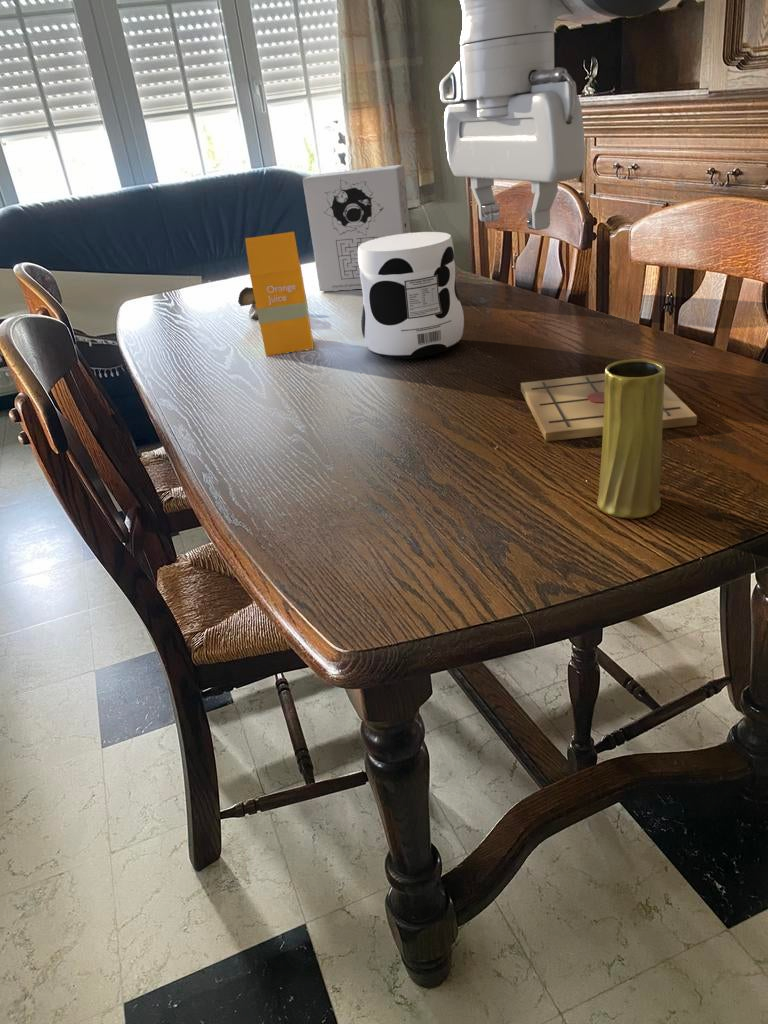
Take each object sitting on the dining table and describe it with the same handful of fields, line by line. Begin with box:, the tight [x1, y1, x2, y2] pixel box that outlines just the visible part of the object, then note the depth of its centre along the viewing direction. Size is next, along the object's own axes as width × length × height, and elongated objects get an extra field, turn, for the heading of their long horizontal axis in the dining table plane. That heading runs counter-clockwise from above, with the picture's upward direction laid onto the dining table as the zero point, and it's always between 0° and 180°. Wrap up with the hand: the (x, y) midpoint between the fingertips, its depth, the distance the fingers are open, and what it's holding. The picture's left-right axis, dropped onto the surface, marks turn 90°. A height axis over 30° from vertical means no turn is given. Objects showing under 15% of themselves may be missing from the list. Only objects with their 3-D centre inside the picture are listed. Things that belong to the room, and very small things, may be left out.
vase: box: [596, 358, 666, 520], centre depth 72 cm, size 6×6×14 cm
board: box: [520, 372, 698, 443], centre depth 97 cm, size 18×18×1 cm
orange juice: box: [244, 231, 314, 357], centre depth 135 cm, size 8×9×20 cm
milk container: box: [358, 231, 465, 360], centre depth 124 cm, size 17×17×18 cm
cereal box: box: [302, 164, 411, 292], centre depth 171 cm, size 22×8×25 cm, turn 77°
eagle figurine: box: [237, 286, 259, 322], centre depth 163 cm, size 8×7×9 cm
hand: (512, 224), depth 79 cm, fingers open, 8 cm apart
